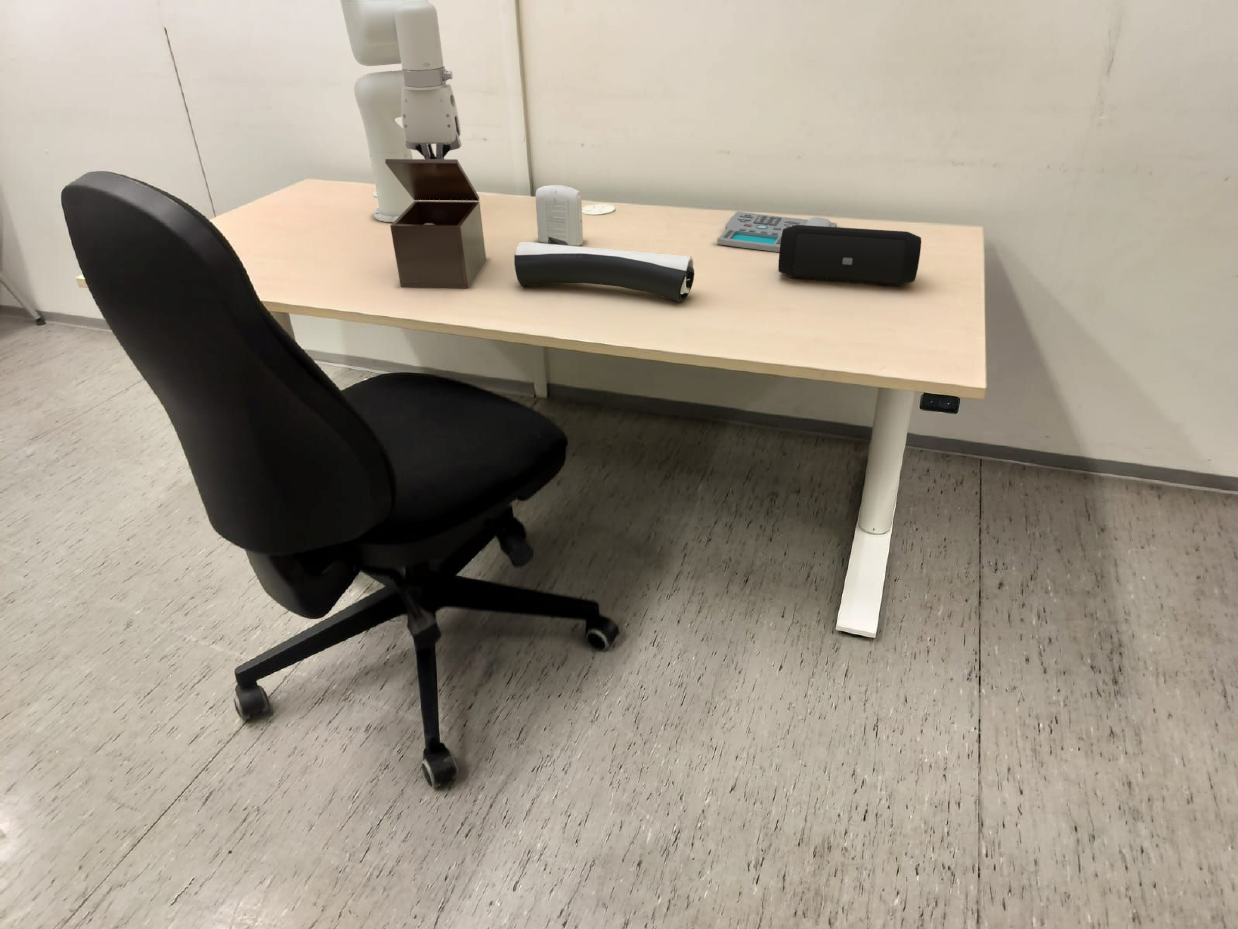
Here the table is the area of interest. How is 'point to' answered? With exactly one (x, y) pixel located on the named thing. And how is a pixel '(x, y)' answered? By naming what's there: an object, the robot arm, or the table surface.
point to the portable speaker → (849, 255)
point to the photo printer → (559, 214)
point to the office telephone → (762, 230)
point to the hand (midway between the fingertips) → (438, 179)
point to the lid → (433, 179)
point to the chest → (439, 244)
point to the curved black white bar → (604, 268)
